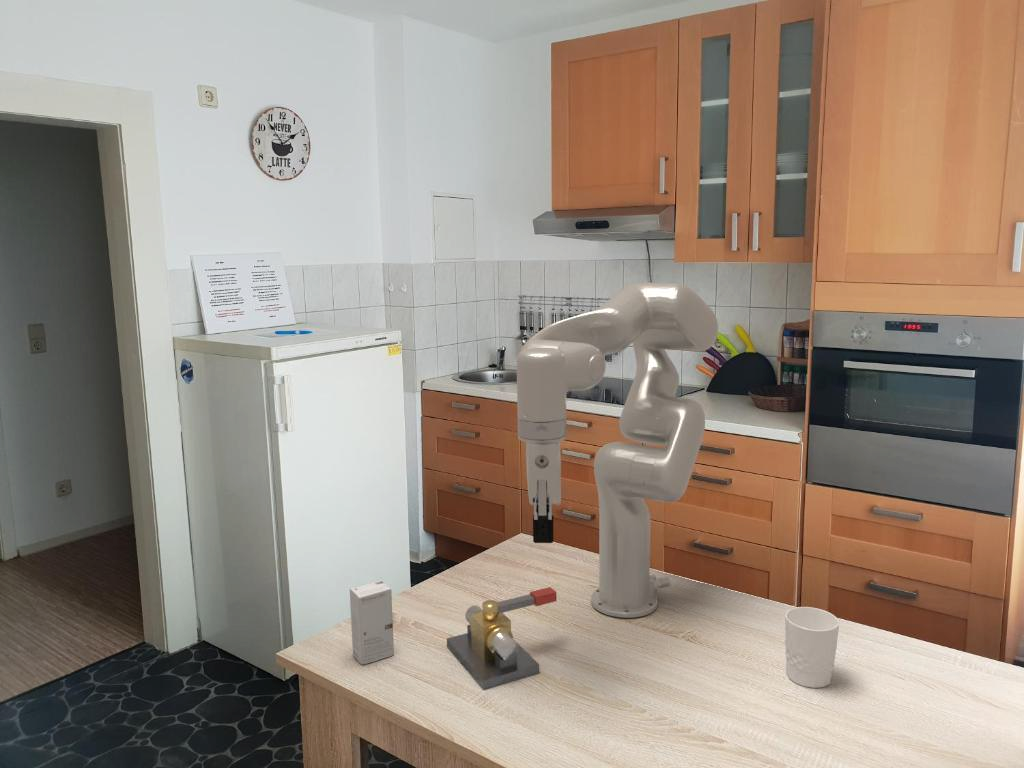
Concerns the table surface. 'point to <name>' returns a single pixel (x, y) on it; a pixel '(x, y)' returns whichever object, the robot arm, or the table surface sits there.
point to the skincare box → (371, 622)
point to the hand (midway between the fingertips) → (543, 540)
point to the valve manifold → (491, 650)
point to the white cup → (810, 646)
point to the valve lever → (518, 602)
